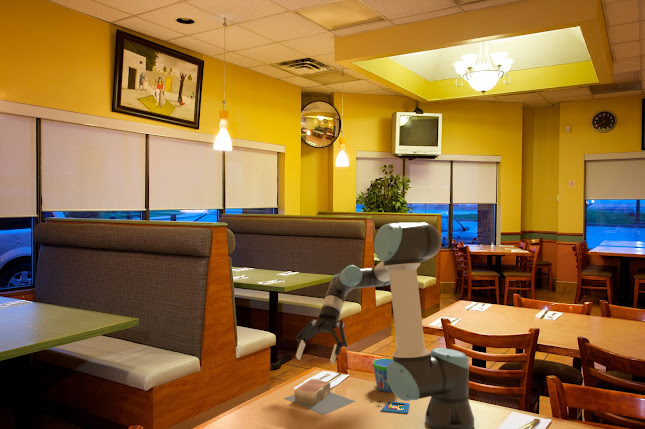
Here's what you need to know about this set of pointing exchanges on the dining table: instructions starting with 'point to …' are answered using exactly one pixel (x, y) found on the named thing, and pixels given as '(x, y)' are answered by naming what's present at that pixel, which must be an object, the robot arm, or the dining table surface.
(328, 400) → the mat
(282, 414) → the dining table surface
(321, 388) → the birch board
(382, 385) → the snack cup
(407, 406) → the handheld gaming device
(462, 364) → the robot arm
